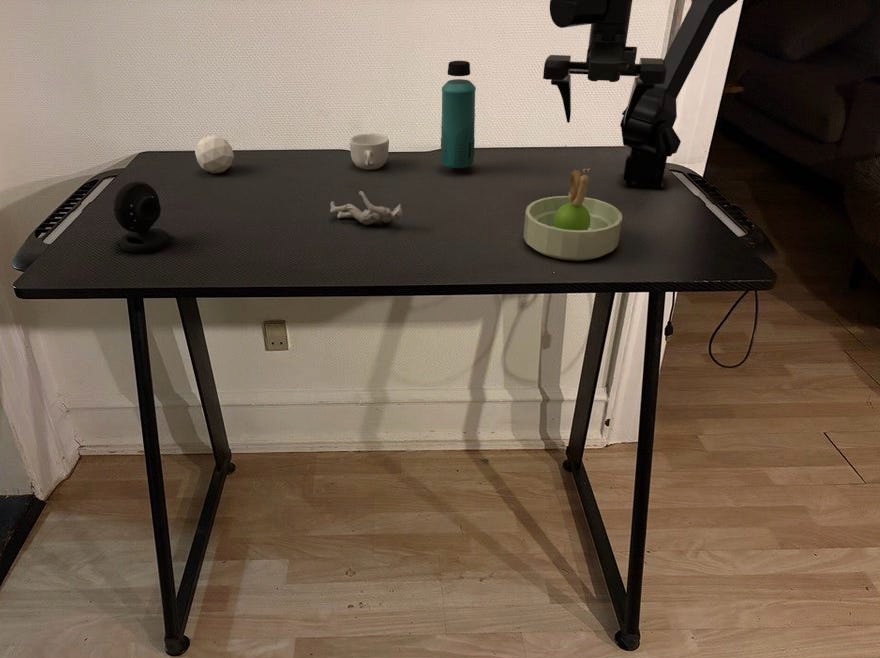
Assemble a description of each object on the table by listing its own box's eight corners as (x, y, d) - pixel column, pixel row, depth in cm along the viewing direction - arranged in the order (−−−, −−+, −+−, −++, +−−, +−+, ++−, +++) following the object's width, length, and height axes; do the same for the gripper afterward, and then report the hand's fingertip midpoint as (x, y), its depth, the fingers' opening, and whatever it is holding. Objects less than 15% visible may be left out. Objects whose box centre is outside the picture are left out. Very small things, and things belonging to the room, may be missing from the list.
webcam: (142, 258, 110) (128, 195, 104) (109, 248, 113) (93, 186, 108) (180, 240, 115) (168, 179, 110) (148, 230, 119) (135, 171, 113)
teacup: (351, 160, 147) (350, 133, 144) (389, 159, 147) (389, 132, 144) (349, 176, 139) (347, 149, 136) (389, 176, 139) (388, 148, 136)
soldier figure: (348, 215, 125) (411, 201, 120) (348, 241, 124) (411, 228, 119) (325, 196, 118) (390, 180, 113) (324, 223, 117) (390, 208, 112)
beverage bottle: (471, 176, 138) (476, 65, 127) (437, 175, 139) (438, 64, 128) (475, 165, 143) (480, 58, 132) (442, 164, 144) (444, 57, 133)
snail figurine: (559, 248, 109) (569, 170, 102) (548, 231, 114) (556, 155, 108) (594, 246, 109) (606, 168, 103) (581, 229, 115) (591, 154, 108)
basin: (616, 229, 116) (621, 199, 114) (617, 267, 105) (622, 235, 102) (527, 222, 119) (530, 192, 117) (518, 258, 108) (521, 227, 105)
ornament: (196, 179, 139) (180, 140, 138) (219, 180, 146) (204, 143, 145) (224, 162, 136) (207, 122, 136) (246, 165, 143) (230, 127, 142)
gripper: (545, 28, 108) (535, 134, 116) (677, 31, 104) (657, 141, 112) (550, 17, 117) (541, 115, 125) (672, 19, 113) (654, 121, 121)
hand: (596, 123), depth 121 cm, fingers open, 9 cm apart
